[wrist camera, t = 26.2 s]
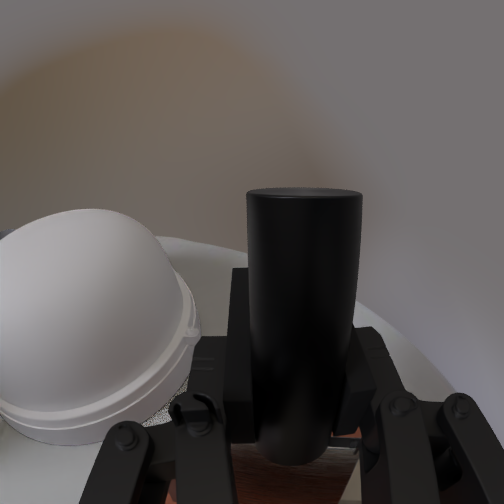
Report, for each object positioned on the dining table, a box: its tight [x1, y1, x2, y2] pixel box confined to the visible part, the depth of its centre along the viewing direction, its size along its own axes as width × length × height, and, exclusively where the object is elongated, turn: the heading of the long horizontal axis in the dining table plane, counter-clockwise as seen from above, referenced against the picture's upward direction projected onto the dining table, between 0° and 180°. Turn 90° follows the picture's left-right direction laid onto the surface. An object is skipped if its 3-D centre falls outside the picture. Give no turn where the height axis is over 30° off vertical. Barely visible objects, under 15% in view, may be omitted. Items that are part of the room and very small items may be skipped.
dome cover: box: [0, 209, 201, 446], centre depth 27 cm, size 32×30×14 cm
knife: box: [231, 188, 363, 504], centre depth 9 cm, size 5×3×18 cm, turn 75°
